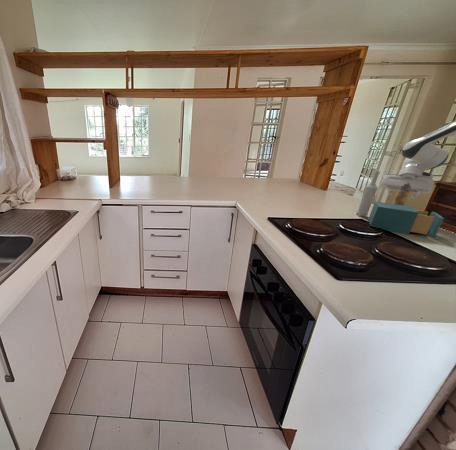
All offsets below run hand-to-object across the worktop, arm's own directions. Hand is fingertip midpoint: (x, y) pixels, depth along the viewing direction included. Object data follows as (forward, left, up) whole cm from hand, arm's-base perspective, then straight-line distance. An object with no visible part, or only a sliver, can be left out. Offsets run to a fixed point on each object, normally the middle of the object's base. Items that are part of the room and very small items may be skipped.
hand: (401, 195), depth 127 cm
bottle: (+14, +5, -13) cm, 20 cm away
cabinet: (+5, +22, -13) cm, 26 cm away
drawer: (-5, +22, -12) cm, 26 cm away
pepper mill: (+1, +5, -13) cm, 14 cm away
